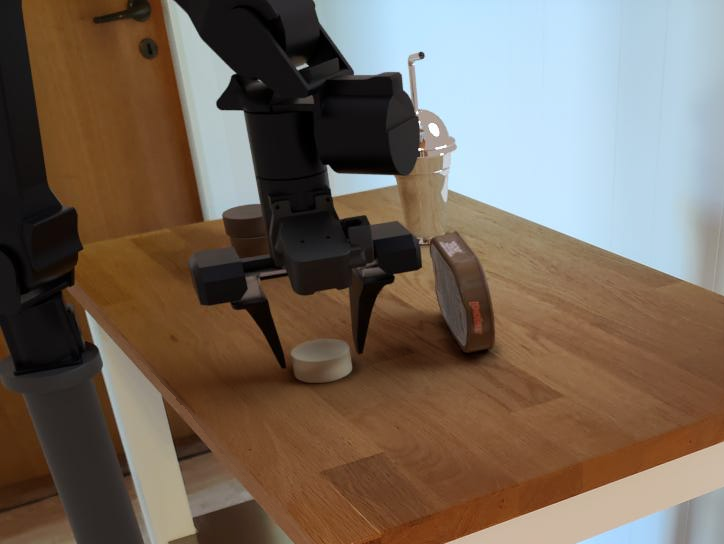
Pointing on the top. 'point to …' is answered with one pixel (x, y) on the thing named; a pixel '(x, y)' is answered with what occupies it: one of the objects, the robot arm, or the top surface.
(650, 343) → the top surface
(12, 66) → the robot arm
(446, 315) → the tin
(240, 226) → the chip pile
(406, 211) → the cup with straw
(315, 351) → the birch chip
